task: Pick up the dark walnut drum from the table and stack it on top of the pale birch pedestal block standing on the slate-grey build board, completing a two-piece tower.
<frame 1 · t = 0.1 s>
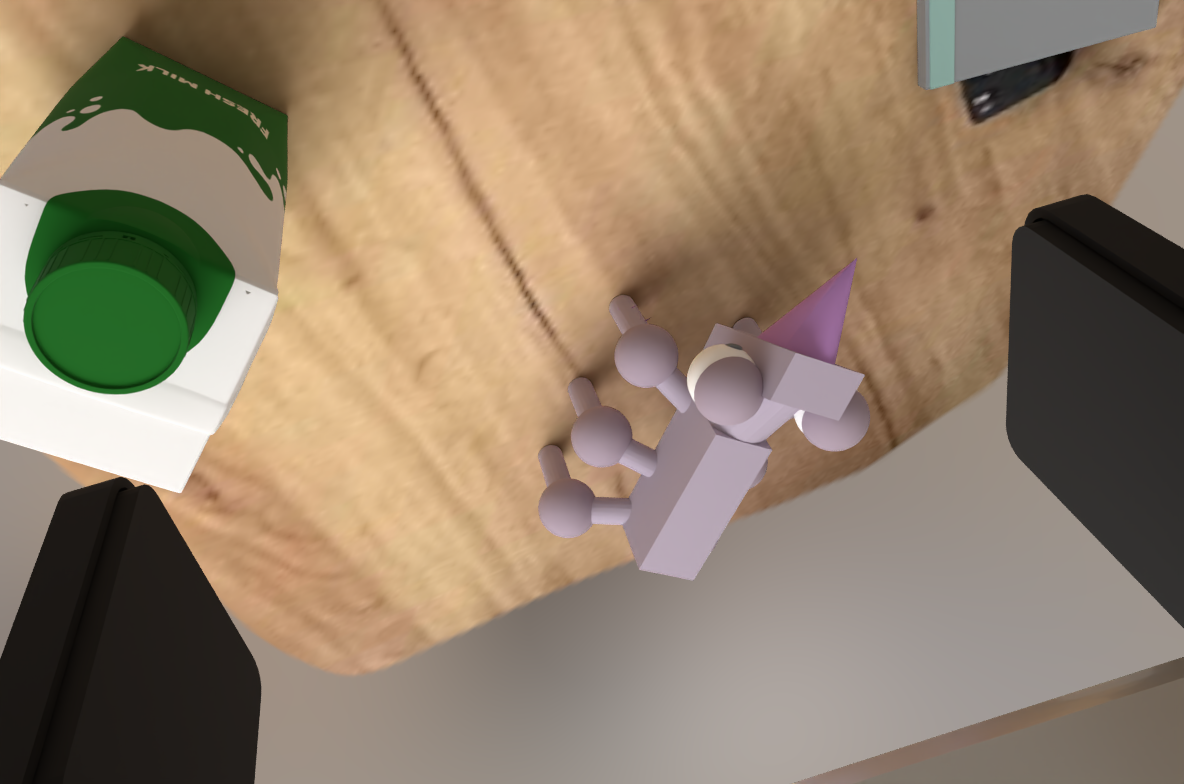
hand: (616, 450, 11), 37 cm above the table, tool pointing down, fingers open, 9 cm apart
purple legged toy creature: (672, 333, 54), on the table
milk carton: (177, 149, 44), on the table
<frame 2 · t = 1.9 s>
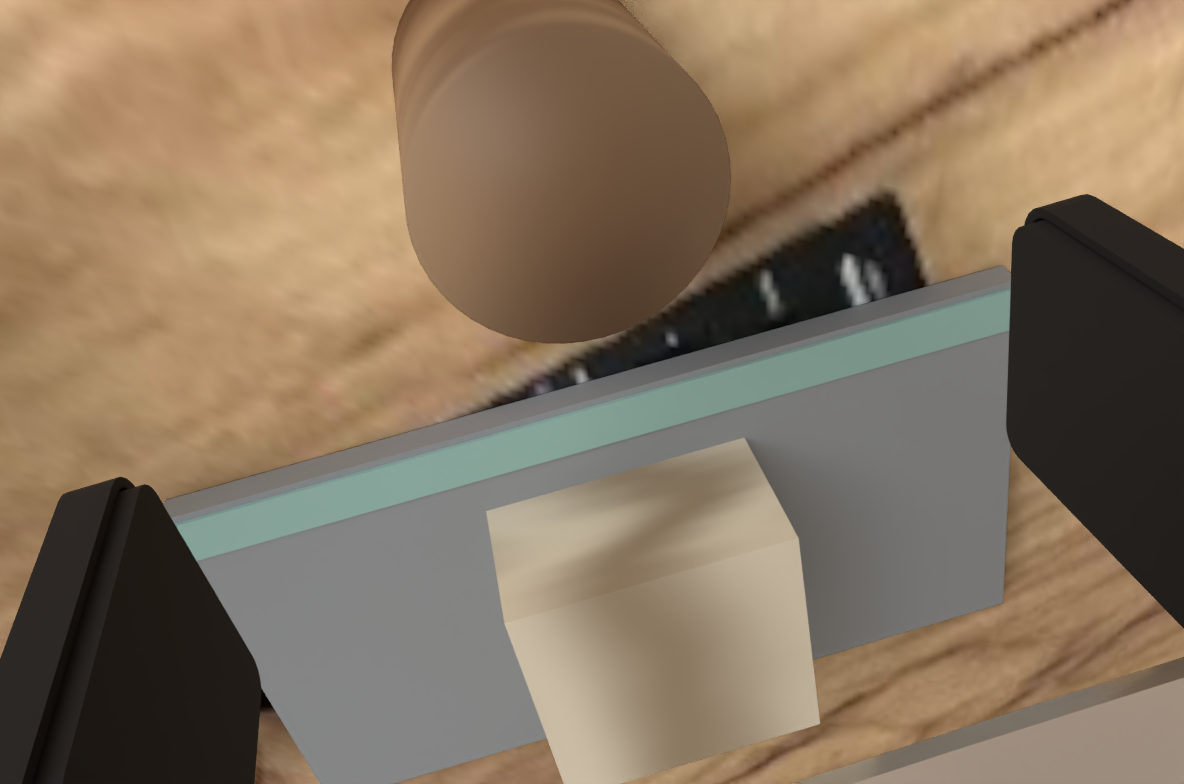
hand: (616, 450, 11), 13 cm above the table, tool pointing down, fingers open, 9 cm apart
slate board: (632, 548, 29), on the table
birch pedestal: (639, 567, 28), point 1 cm above the table, touching slate board
walnut drum: (514, 71, 21), on the table
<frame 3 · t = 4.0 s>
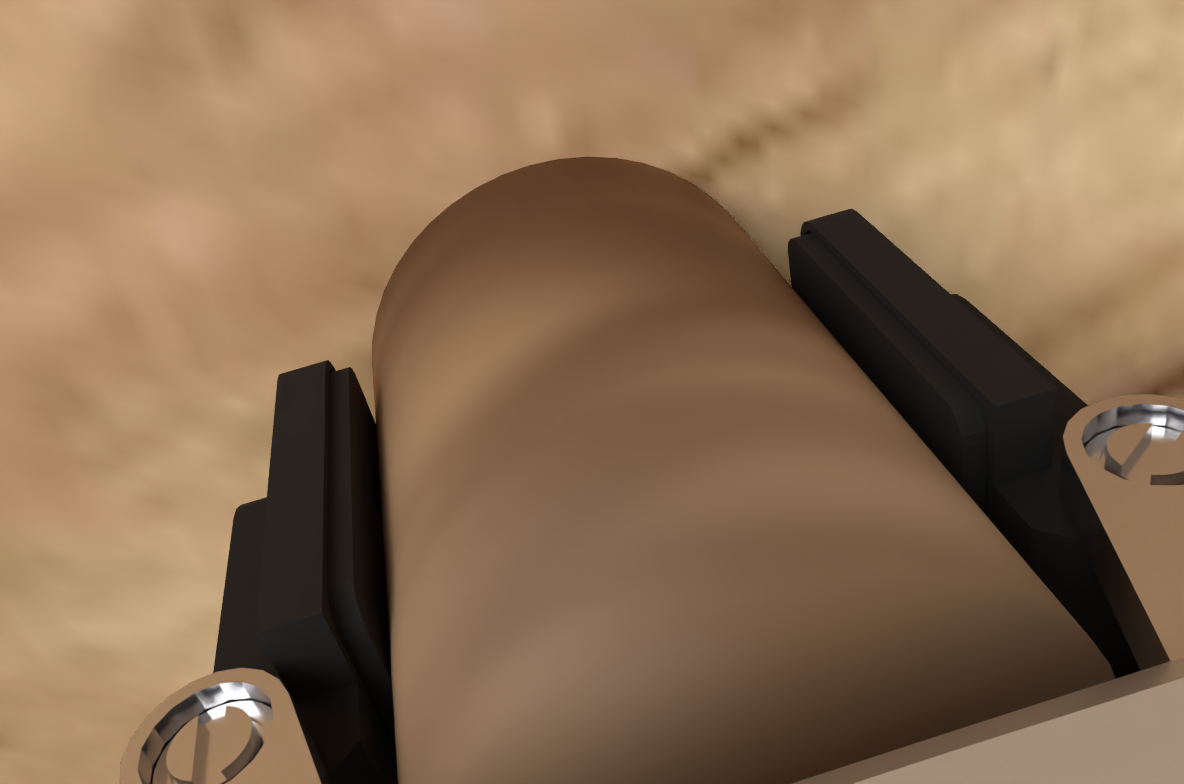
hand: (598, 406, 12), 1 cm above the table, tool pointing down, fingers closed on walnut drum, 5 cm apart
walnut drum: (577, 351, 13), on the table, touching gripper
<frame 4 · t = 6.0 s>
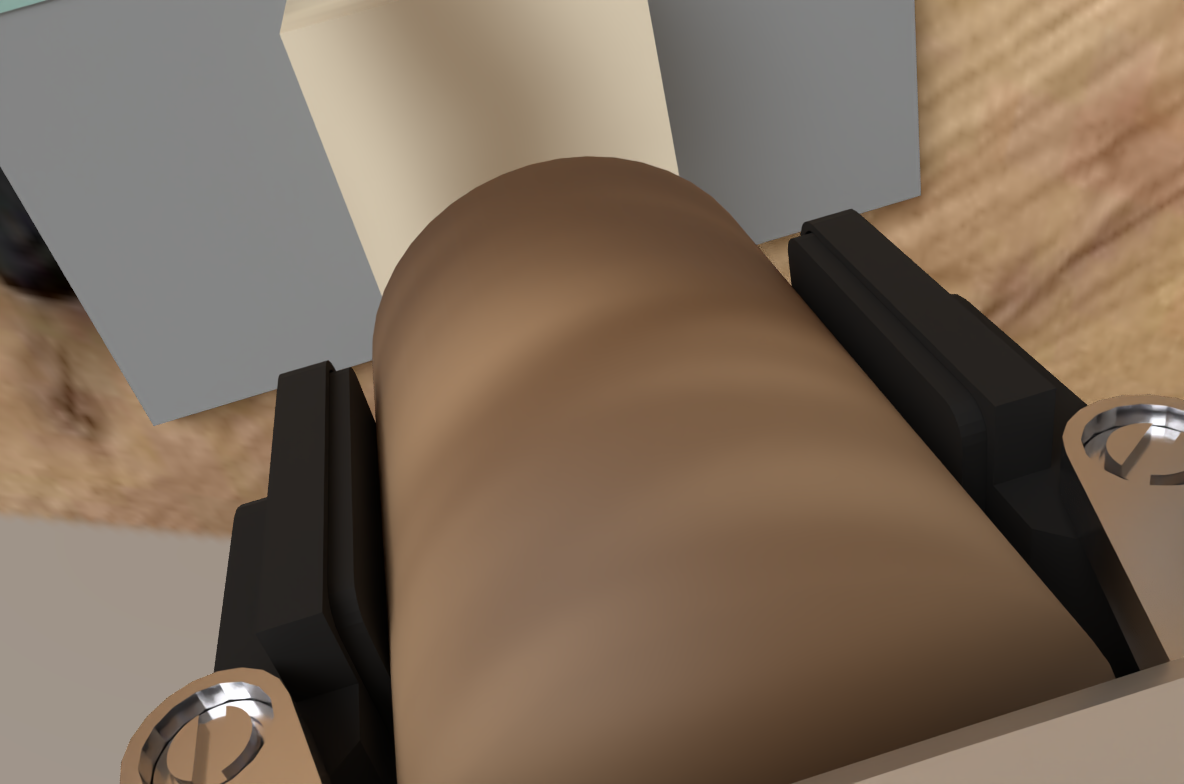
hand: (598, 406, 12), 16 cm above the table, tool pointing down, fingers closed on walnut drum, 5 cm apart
slate board: (481, 89, 25), on the table
birch pedestal: (484, 98, 24), point 1 cm above the table, touching slate board
walnut drum: (577, 351, 13), point 15 cm above the table, touching gripper
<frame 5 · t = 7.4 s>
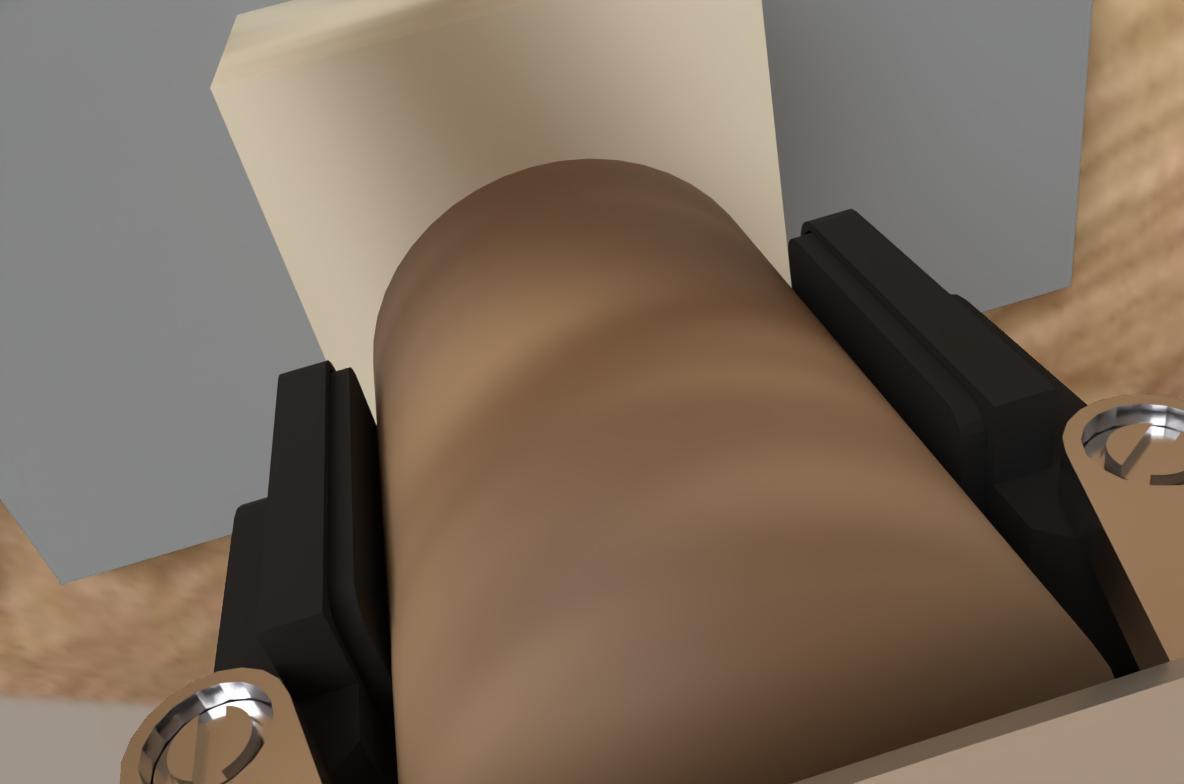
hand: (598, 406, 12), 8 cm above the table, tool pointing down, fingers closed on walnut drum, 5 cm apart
slate board: (505, 149, 18), on the table
birch pedestal: (511, 164, 18), point 1 cm above the table, touching slate board
walnut drum: (577, 353, 13), point 7 cm above the table, touching gripper
when the fingers open (7 cm above the table, at t = 8.4 s): walnut drum drops 1 cm, resting on birch pedestal.
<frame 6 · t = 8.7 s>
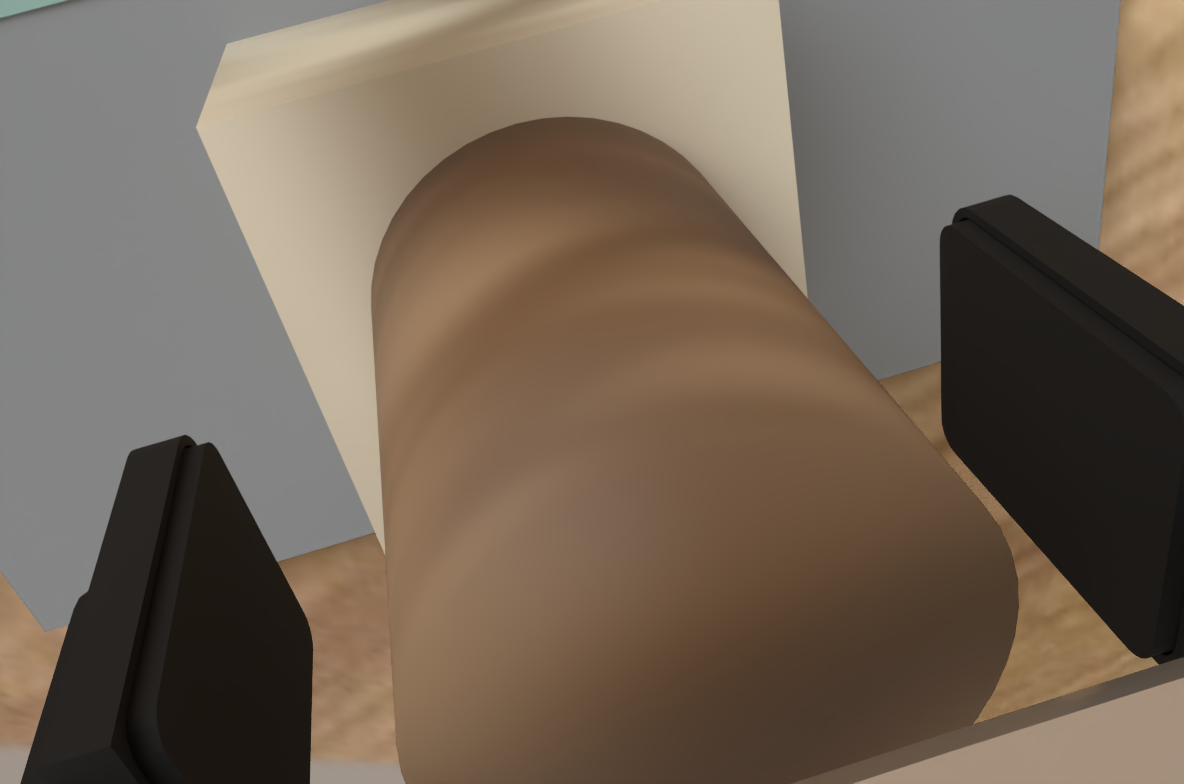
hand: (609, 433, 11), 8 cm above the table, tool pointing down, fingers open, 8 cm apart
slate board: (507, 179, 18), on the table
birch pedestal: (514, 196, 17), point 1 cm above the table, touching slate board, walnut drum
walnut drum: (559, 299, 14), point 5 cm above the table, touching birch pedestal
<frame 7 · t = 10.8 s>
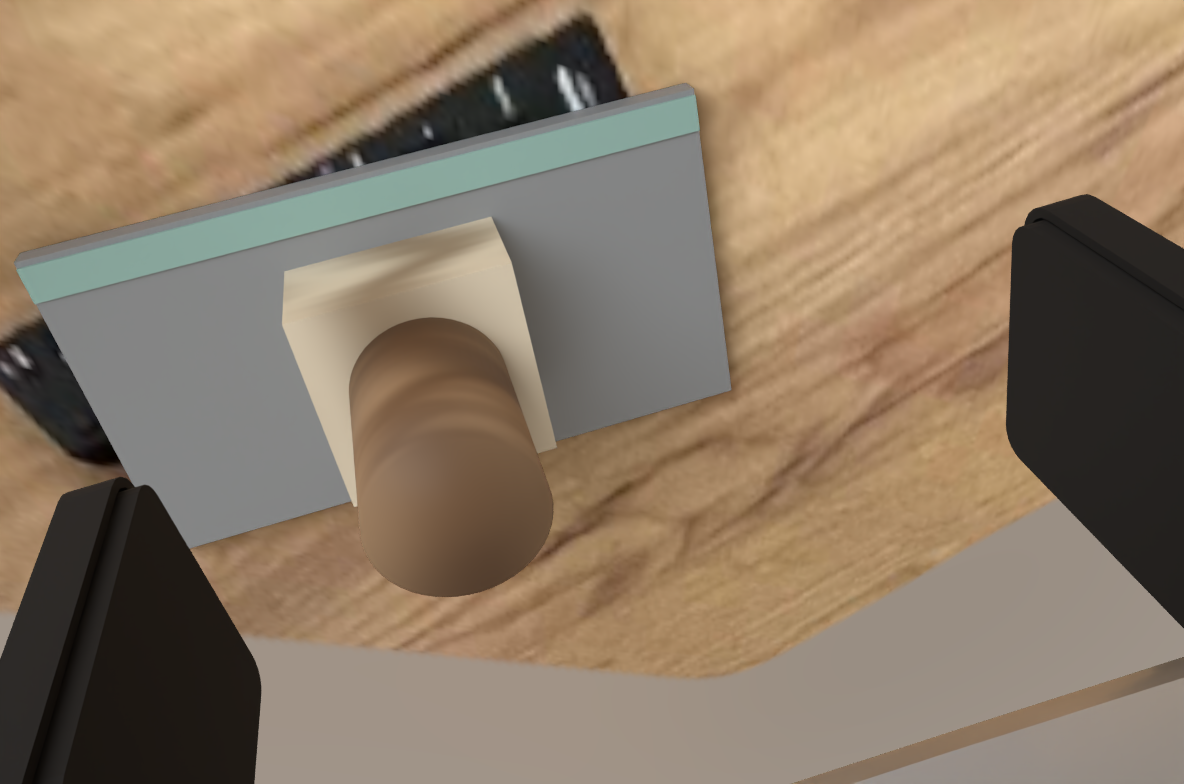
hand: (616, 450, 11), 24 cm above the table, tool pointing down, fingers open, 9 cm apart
slate board: (415, 324, 36), on the table
birch pedestal: (417, 334, 35), point 1 cm above the table, touching slate board, walnut drum
walnut drum: (430, 389, 32), point 5 cm above the table, touching birch pedestal
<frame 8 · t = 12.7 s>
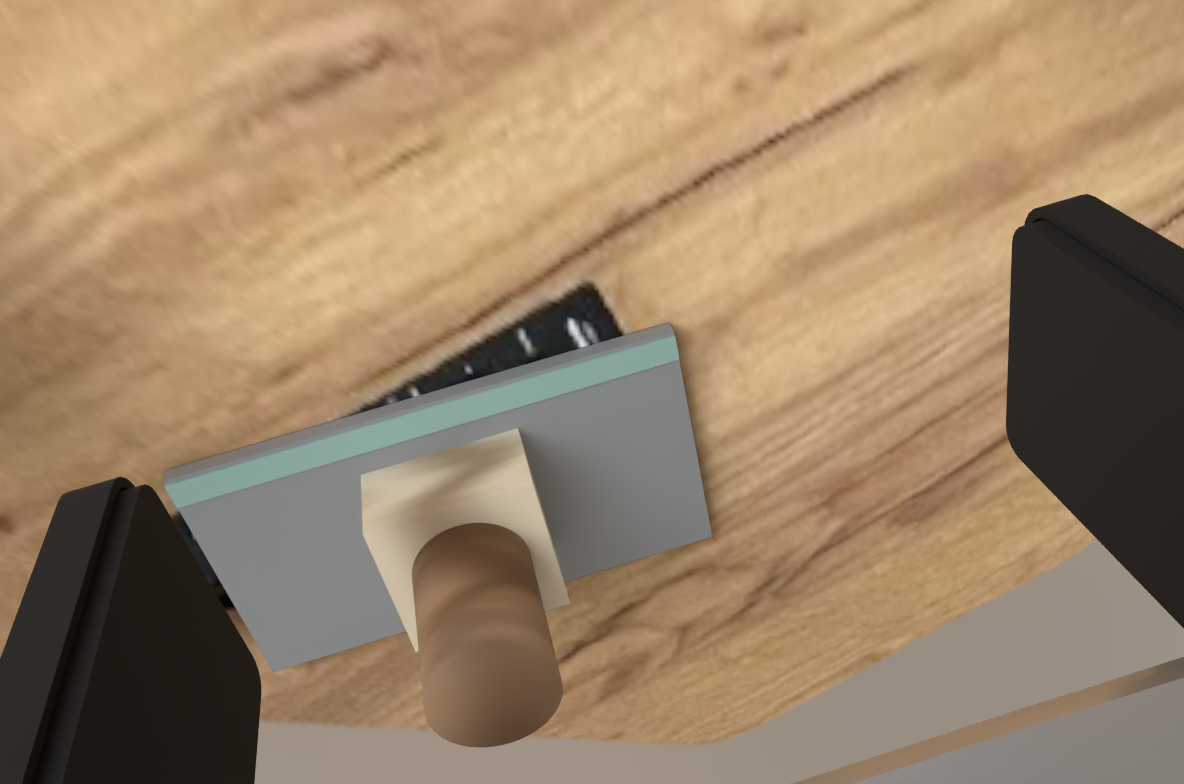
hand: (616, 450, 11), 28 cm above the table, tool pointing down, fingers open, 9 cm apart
slate board: (459, 500, 46), on the table
birch pedestal: (461, 511, 46), point 1 cm above the table, touching slate board, walnut drum
walnut drum: (472, 569, 42), point 5 cm above the table, touching birch pedestal
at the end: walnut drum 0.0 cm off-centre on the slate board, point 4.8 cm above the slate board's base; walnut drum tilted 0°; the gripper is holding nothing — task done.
